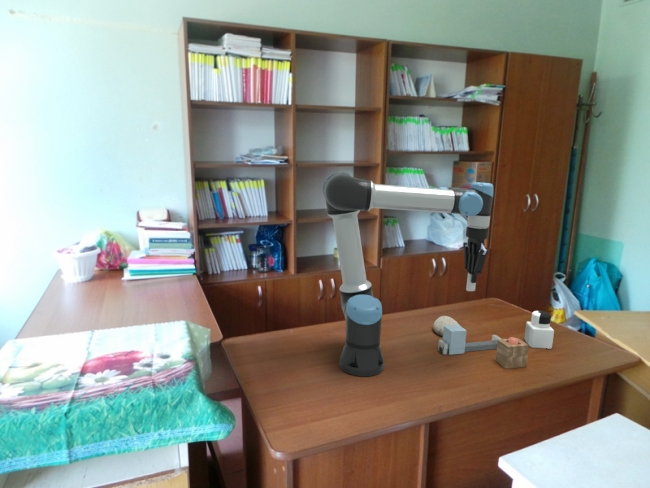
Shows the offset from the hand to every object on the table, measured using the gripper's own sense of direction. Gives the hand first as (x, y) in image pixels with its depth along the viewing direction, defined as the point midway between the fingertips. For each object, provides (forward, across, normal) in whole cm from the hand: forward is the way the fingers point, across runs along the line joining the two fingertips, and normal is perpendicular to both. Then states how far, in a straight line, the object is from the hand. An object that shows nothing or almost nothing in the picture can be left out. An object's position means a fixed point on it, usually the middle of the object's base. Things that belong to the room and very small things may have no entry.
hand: (470, 290), depth 162 cm
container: (+23, -1, -31) cm, 38 cm away
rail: (+23, -1, -2) cm, 23 cm away
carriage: (+23, -1, +5) cm, 24 cm away
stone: (+23, +16, -1) cm, 28 cm away
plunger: (+21, -14, -10) cm, 27 cm away
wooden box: (+23, -14, -10) cm, 28 cm away
